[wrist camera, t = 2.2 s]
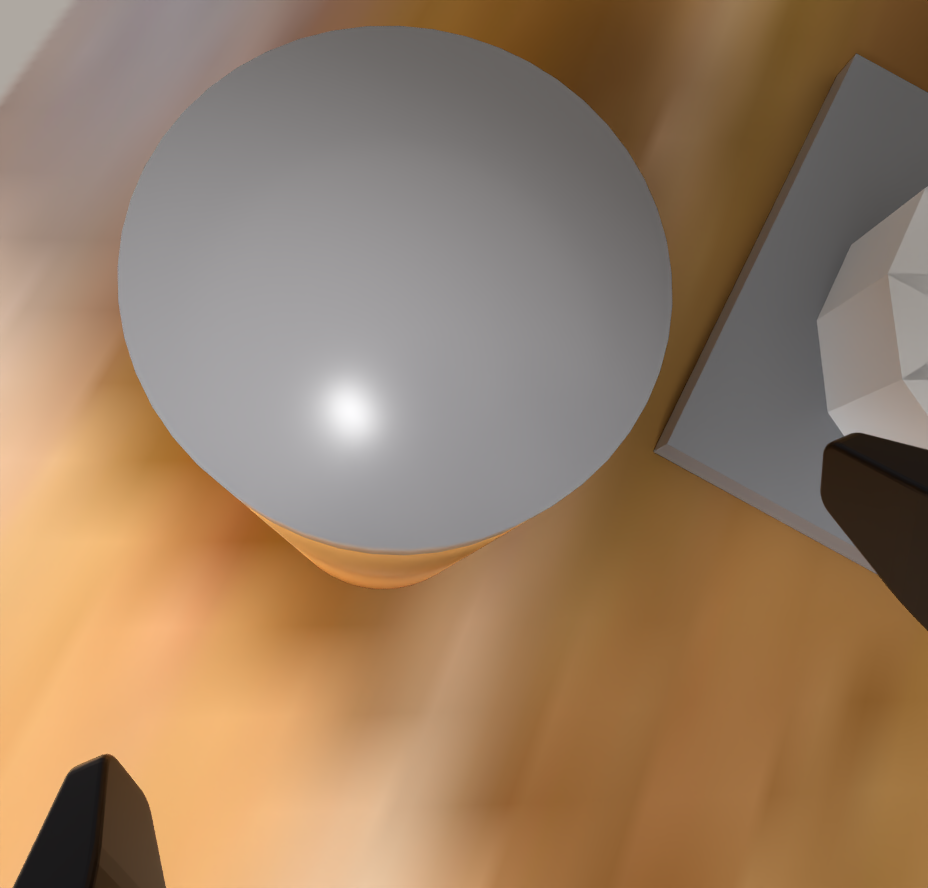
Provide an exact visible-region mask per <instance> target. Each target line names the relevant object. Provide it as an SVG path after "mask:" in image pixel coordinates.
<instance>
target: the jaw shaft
mask: <svg viewBox="0 0 928 888" xmlns="http://www.w3.org/2000/svg"><path fill="white" fill-rule="evenodd" d="M118 302H119V308H120V314H121V320H122V326H123V332H124V338H125V341H126V344H127V347H128V350H129V353H130V356H131V360H132V363H133V366H134V369H135V372H136V374H137V376H138V378H139V380H140V382H141V385H142V387H143V389H144V391H145V393H146V395H147V397H148V399H149V401H150V403H151V405H152V407H153V408H154V410H155V411H156V413H157V414H158V416H159V417H160V419H161V420H162V422H163V423H164V425H165V426H166V428H167V429H168V430H169V432H170V433H171V435H172V436H173V438H174V439H175V440H176V441H177V442H178V443H179V444H180V445H181V447H182V448H183V449H184V450H185V451H186V452H187V453H188V454H189V455H190V457H191V458H192V459H193V460H194V461H195V462H196V463H197V464H198V465H199V466H200V467H201V468H202V469H203V470H204V471H206V472H207V473H208V474H209V475H210V476H212V477H213V478H214V479H215V480H216V481H217V482H219V483H220V484H221V485H222V486H223V487H224V488H226V489H227V490H228V491H229V492H230V493H232V494H233V495H234V496H235V497H236V498H237V499H239V500H240V501H241V502H242V503H243V504H245V505H246V506H247V507H248V508H249V509H250V510H252V511H253V512H254V513H255V514H256V515H257V516H259V517H260V518H261V519H262V520H263V521H265V522H266V523H267V524H268V525H269V526H270V527H272V528H273V529H274V530H275V531H276V532H278V533H279V534H280V535H281V536H282V537H283V538H285V539H286V540H287V541H288V542H289V543H290V544H292V545H293V546H294V547H295V548H296V549H298V550H299V551H300V552H301V553H302V554H303V555H305V556H306V557H307V558H308V559H309V560H311V561H312V562H313V563H314V564H315V565H316V566H318V567H319V568H320V569H321V570H323V571H325V572H326V573H328V574H329V575H331V576H332V577H335V578H337V579H339V580H341V581H343V582H346V583H349V584H352V585H355V586H359V587H365V588H371V589H393V588H401V587H405V586H410V585H414V584H416V583H419V582H422V581H424V580H427V579H429V578H430V577H432V576H434V575H436V574H438V573H440V572H441V571H443V570H445V569H446V568H448V567H450V566H451V565H453V564H455V563H457V562H458V561H460V560H462V559H463V558H465V557H467V556H468V555H470V554H472V553H473V552H475V551H477V550H479V549H480V548H482V547H484V546H485V545H487V544H489V543H490V542H492V541H494V540H495V539H497V538H499V537H500V536H502V535H504V534H506V533H507V532H509V531H511V530H512V529H514V528H516V527H517V526H519V525H521V524H522V523H524V522H526V521H528V520H529V519H531V518H533V517H534V516H536V515H538V514H539V513H541V512H543V511H544V510H546V509H548V508H550V507H551V506H553V505H554V504H556V503H557V502H558V501H560V500H561V499H563V498H564V497H565V496H567V495H568V494H570V493H571V492H572V491H574V490H575V489H576V488H578V487H579V486H581V485H582V484H583V483H584V482H585V481H586V480H587V479H588V478H589V477H590V476H592V475H593V474H594V473H595V472H596V471H597V470H598V469H599V468H600V467H601V466H602V465H603V464H604V463H605V462H606V461H607V460H608V459H609V458H610V457H611V455H612V454H613V453H614V452H615V450H616V449H617V448H618V446H619V445H620V444H621V443H622V441H623V440H624V439H625V438H626V436H627V435H628V434H629V433H630V431H631V429H632V428H633V426H634V424H635V422H636V421H637V419H638V417H639V416H640V414H641V412H642V411H643V409H644V407H645V405H646V404H647V402H648V399H649V397H650V394H651V392H652V390H653V387H654V385H655V382H656V380H657V378H658V375H659V373H660V369H661V366H662V362H663V358H664V354H665V350H666V346H667V343H668V338H669V329H670V321H671V312H672V273H671V266H670V260H669V253H668V246H667V240H666V237H665V233H664V230H663V227H662V223H661V220H660V216H659V213H658V209H657V207H656V205H655V202H654V200H653V198H652V196H651V193H650V191H649V189H648V186H647V184H646V182H645V179H644V178H643V176H642V174H641V173H640V171H639V169H638V168H637V166H636V164H635V162H634V161H633V159H632V157H631V156H630V154H629V152H628V151H627V149H626V148H625V147H624V146H623V144H622V143H621V142H620V140H619V139H618V138H617V136H616V135H615V134H614V133H613V131H612V130H611V129H610V127H609V126H608V125H607V124H606V123H605V122H604V121H603V120H602V119H601V118H600V117H599V116H598V115H597V114H596V113H595V112H594V111H593V110H592V109H591V108H590V106H589V105H588V104H587V103H586V102H585V101H583V100H582V99H581V98H580V97H578V96H577V95H576V94H575V93H573V92H572V91H571V90H570V89H568V88H567V87H566V86H565V85H563V84H562V83H561V82H560V81H559V80H557V79H555V78H554V77H552V76H551V75H549V74H547V73H546V72H544V71H543V70H541V69H539V68H538V67H536V66H535V65H533V64H531V63H530V62H528V61H526V60H524V59H522V58H520V57H517V56H515V55H513V54H511V53H509V52H507V51H505V50H503V49H501V48H498V47H495V46H492V45H490V44H487V43H484V42H481V41H478V40H475V39H472V38H469V37H466V36H461V35H457V34H452V33H448V32H443V31H438V30H434V29H424V28H414V27H405V26H366V27H358V28H350V29H343V30H335V31H330V32H326V33H322V34H318V35H314V36H310V37H306V38H302V39H298V40H296V41H293V42H291V43H288V44H286V45H283V46H280V47H278V48H275V49H273V50H270V51H267V52H265V53H264V54H262V55H260V56H258V57H256V58H254V59H252V60H251V61H249V62H247V63H245V64H243V65H241V66H239V67H238V68H236V69H235V70H233V71H232V72H230V73H229V74H228V75H226V76H225V77H224V78H222V79H221V80H219V81H218V82H217V83H215V84H214V85H212V86H211V87H210V88H208V89H207V90H206V91H205V92H204V93H203V94H202V95H201V96H200V97H199V98H198V99H197V100H196V101H194V102H193V103H192V104H191V105H190V106H189V107H188V108H187V109H186V110H185V111H184V112H183V113H182V114H181V116H180V117H179V118H178V119H177V121H176V122H175V123H174V124H173V125H172V127H171V128H170V129H169V130H168V132H167V133H166V134H165V135H164V136H163V138H162V139H161V141H160V143H159V144H158V146H157V148H156V149H155V151H154V153H153V154H152V156H151V157H150V159H149V161H148V162H147V164H146V166H145V167H144V170H143V172H142V174H141V177H140V179H139V181H138V184H137V186H136V188H135V191H134V193H133V195H132V198H131V201H130V204H129V208H128V212H127V215H126V219H125V223H124V226H123V230H122V236H121V244H120V252H119V260H118Z"/></svg>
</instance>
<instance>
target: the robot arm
mask: <svg viewBox="0 0 928 888" xmlns="http://www.w3.org/2000/svg"><path fill="white" fill-rule="evenodd" d="M820 494H821V499H822V502H823V504H824V506H825V508H826V510H827V511H828V513H829V514H830V515H831V516H832V518H833V519H834V520H835V521H836V523H837V524H838V525H839V526H840V528H841V529H842V530H843V531H844V533H845V534H846V535H847V536H848V538H849V539H850V540H851V541H852V543H853V544H854V545H855V547H856V548H857V549H858V550H859V552H860V553H861V554H862V555H863V557H864V558H865V559H866V560H867V562H868V563H869V564H870V565H871V567H872V568H873V569H874V570H875V572H876V573H877V574H878V576H879V577H880V578H881V579H882V581H883V582H884V583H885V584H886V586H887V587H888V588H889V589H890V590H891V592H892V593H893V594H894V595H895V596H896V598H897V599H898V600H899V601H900V602H901V603H902V604H903V605H904V607H905V608H906V609H907V610H908V611H909V612H910V613H911V614H912V615H913V616H914V617H915V618H916V619H917V620H918V621H919V622H920V623H921V624H922V625H923V626H924V627H925V628H926V630H927V631H928V449H924V448H920V447H916V446H912V445H908V444H904V443H900V442H896V441H892V440H888V439H884V438H880V437H876V436H872V435H868V434H864V433H851V434H848V435H846V436H843V437H841V438H839V439H836V440H834V441H832V442H830V443H828V444H827V445H826V447H825V449H824V452H823V461H822V474H821V486H820ZM13 888H166V886H165V881H164V876H163V871H162V866H161V861H160V856H159V850H158V845H157V840H156V835H155V830H154V825H153V820H152V815H151V811H150V807H149V804H148V802H147V799H146V797H145V795H144V793H143V792H142V790H141V789H140V788H139V787H138V785H137V784H136V783H135V781H134V780H133V779H132V778H131V776H130V775H129V774H128V773H127V771H126V770H125V769H124V768H123V766H122V765H121V764H120V763H119V761H118V760H117V759H116V758H115V757H114V756H112V755H110V754H105V755H101V756H98V757H96V758H94V759H91V760H89V761H87V762H84V763H82V764H80V765H77V766H75V767H74V768H73V769H71V770H70V772H69V773H68V774H67V776H66V777H65V779H64V782H63V784H62V786H61V788H60V790H59V792H58V794H57V796H56V798H55V800H54V802H53V805H52V807H51V809H50V811H49V813H48V815H47V817H46V819H45V821H44V823H43V826H42V828H41V830H40V832H39V834H38V836H37V838H36V840H35V842H34V844H33V846H32V849H31V851H30V853H29V855H28V857H27V859H26V861H25V863H24V865H23V867H22V869H21V872H20V874H19V876H18V878H17V880H16V882H15V884H14V886H13Z"/></svg>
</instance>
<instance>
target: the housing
mask: <svg viewBox="0 0 928 888" xmlns="http://www.w3.org/2000/svg"><path fill="white" fill-rule="evenodd" d="M851 433H864V434H868V435H872V436H876V437H880V438H884V439H888V440H892V441H896V442H900V443H904V444H908V445H912V446H916V447H920V448H924V449H928V92H926V91H924V90H922V89H920V88H918V87H917V86H915V85H913V84H911V83H909V82H908V81H906V80H904V79H902V78H900V77H898V76H897V75H895V74H893V73H891V72H889V71H887V70H886V69H884V68H882V67H880V66H878V65H876V64H875V63H873V62H871V61H869V60H867V59H866V58H864V57H862V56H860V55H858V54H855V56H854V57H853V58H852V59H851V60H850V61H849V62H848V64H847V65H846V66H845V67H844V68H843V69H842V71H841V72H840V73H839V74H838V75H837V76H836V78H835V81H834V83H833V85H832V87H831V89H830V91H829V93H828V95H827V97H826V99H825V101H824V103H823V105H822V107H821V109H820V111H819V113H818V115H817V117H816V119H815V122H814V124H813V126H812V128H811V130H810V132H809V134H808V136H807V138H806V140H805V142H804V144H803V146H802V148H801V150H800V152H799V154H798V156H797V158H796V160H795V162H794V165H793V167H792V169H791V171H790V173H789V175H788V177H787V179H786V181H785V183H784V185H783V187H782V189H781V191H780V193H779V195H778V197H777V199H776V201H775V203H774V206H773V208H772V210H771V212H770V214H769V216H768V218H767V220H766V222H765V224H764V226H763V228H762V230H761V232H760V234H759V236H758V238H757V240H756V242H755V244H754V246H753V249H752V251H751V253H750V255H749V257H748V259H747V261H746V263H745V265H744V267H743V269H742V271H741V273H740V275H739V277H738V279H737V281H736V283H735V285H734V287H733V290H732V292H731V294H730V296H729V298H728V300H727V302H726V304H725V306H724V308H723V310H722V312H721V314H720V316H719V318H718V320H717V322H716V324H715V326H714V328H713V331H712V333H711V335H710V337H709V339H708V341H707V343H706V345H705V347H704V349H703V351H702V353H701V355H700V357H699V359H698V361H697V363H696V365H695V367H694V369H693V371H692V374H691V376H690V378H689V380H688V382H687V384H686V386H685V388H684V390H683V392H682V394H681V396H680V398H679V400H678V402H677V404H676V406H675V408H674V410H673V412H672V415H671V417H670V419H669V421H668V423H667V425H666V427H665V429H664V431H663V433H662V435H661V437H660V439H659V441H658V443H657V445H656V447H655V449H654V451H653V452H655V453H657V454H659V455H660V456H662V457H664V458H666V459H668V460H669V461H671V462H673V463H675V464H677V465H679V466H680V467H682V468H684V469H686V470H688V471H690V472H691V473H693V474H695V475H697V476H699V477H700V478H702V479H704V480H706V481H708V482H710V483H711V484H713V485H715V486H717V487H719V488H721V489H722V490H724V491H726V492H728V493H730V494H732V495H733V496H735V497H737V498H739V499H741V500H742V501H744V502H746V503H748V504H750V505H752V506H753V507H755V508H757V509H759V510H761V511H763V512H764V513H766V514H768V515H770V516H772V517H773V518H775V519H777V520H779V521H781V522H783V523H784V524H786V525H788V526H790V527H792V528H794V529H795V530H797V531H799V532H801V533H803V534H805V535H806V536H808V537H810V538H812V539H814V540H815V541H817V542H819V543H821V544H823V545H825V546H826V547H828V548H830V549H832V550H834V551H836V552H837V553H839V554H841V555H843V556H845V557H846V558H848V559H850V560H852V561H854V562H856V563H857V564H859V565H861V566H863V567H865V568H867V569H868V570H870V571H872V572H874V573H876V572H875V570H874V569H873V568H872V567H871V565H870V564H869V563H868V562H867V560H866V559H865V558H864V557H863V555H862V554H861V553H860V552H859V550H858V549H857V548H856V547H855V545H854V544H853V543H852V541H851V540H850V539H849V538H848V536H847V535H846V534H845V533H844V531H843V530H842V529H841V528H840V526H839V525H838V524H837V523H836V521H835V520H834V519H833V518H832V516H831V515H830V514H829V513H828V511H827V510H826V508H825V506H824V504H823V502H822V499H821V494H820V486H821V474H822V461H823V452H824V449H825V447H826V445H827V444H828V443H830V442H832V441H834V440H836V439H839V438H841V437H843V436H846V435H848V434H851ZM876 574H877V573H876Z"/></svg>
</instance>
